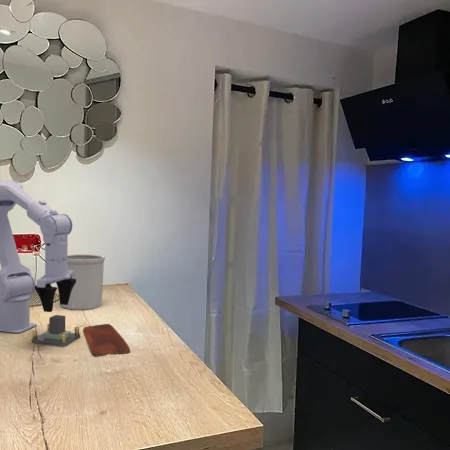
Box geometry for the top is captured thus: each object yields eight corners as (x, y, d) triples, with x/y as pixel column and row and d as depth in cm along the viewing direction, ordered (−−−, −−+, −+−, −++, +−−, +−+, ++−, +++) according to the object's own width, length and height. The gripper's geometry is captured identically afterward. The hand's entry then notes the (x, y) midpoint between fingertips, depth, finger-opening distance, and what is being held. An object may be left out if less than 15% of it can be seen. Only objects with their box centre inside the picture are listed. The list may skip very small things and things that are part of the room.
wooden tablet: (132, 355, 123) (132, 349, 123) (92, 359, 119) (92, 353, 119) (113, 325, 147) (113, 320, 147) (80, 328, 143) (80, 322, 143)
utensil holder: (86, 297, 178) (86, 251, 176) (112, 304, 169) (113, 256, 167) (51, 305, 166) (51, 255, 164) (78, 313, 157) (78, 261, 155)
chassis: (31, 342, 128) (31, 331, 128) (48, 333, 136) (48, 323, 135) (64, 346, 125) (64, 335, 125) (80, 337, 133) (80, 327, 133)
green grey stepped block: (43, 337, 129) (43, 317, 129) (52, 333, 133) (52, 313, 132) (62, 340, 128) (62, 320, 127) (71, 335, 132) (71, 316, 131)
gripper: (53, 264, 120) (53, 316, 122) (83, 256, 134) (83, 302, 136) (29, 262, 122) (29, 313, 123) (61, 254, 136) (61, 300, 137)
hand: (56, 307), depth 130 cm, fingers open, 7 cm apart
